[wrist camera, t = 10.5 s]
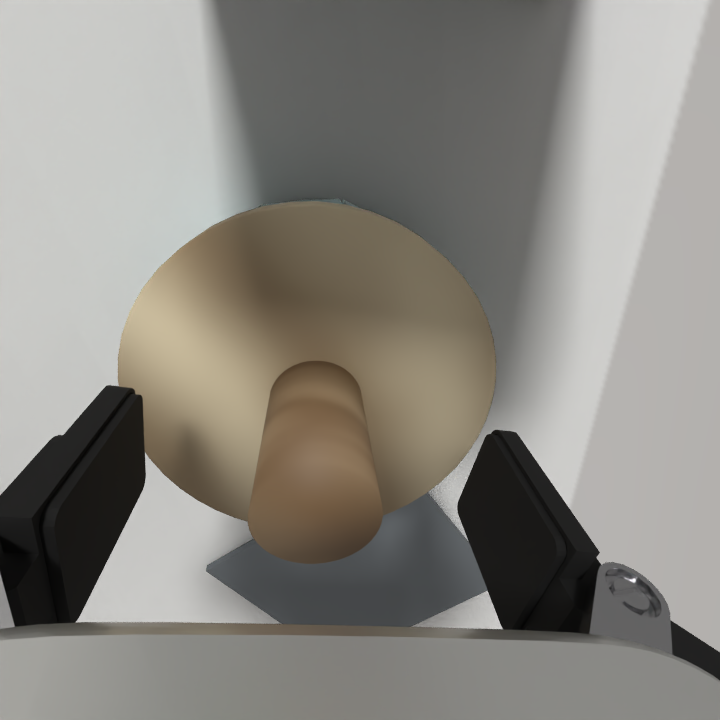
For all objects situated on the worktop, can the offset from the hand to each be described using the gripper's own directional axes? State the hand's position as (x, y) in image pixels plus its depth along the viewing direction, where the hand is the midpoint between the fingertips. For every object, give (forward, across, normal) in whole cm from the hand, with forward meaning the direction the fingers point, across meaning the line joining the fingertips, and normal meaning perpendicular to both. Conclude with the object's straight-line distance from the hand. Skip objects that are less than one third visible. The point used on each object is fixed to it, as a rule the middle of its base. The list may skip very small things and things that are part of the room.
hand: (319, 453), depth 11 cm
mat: (+9, -6, +17) cm, 20 cm away
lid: (+4, 0, 0) cm, 4 cm away
